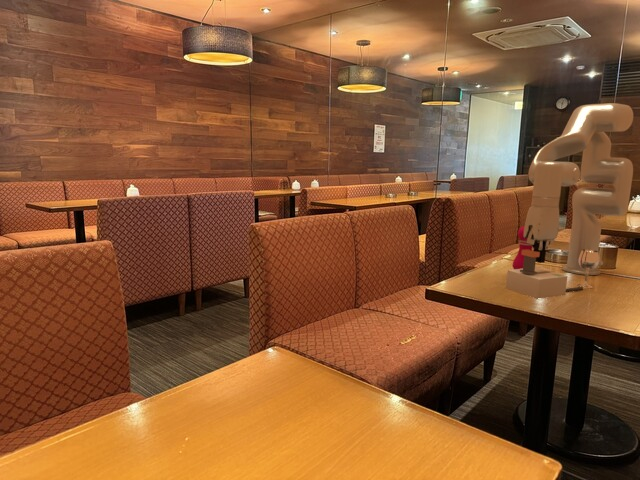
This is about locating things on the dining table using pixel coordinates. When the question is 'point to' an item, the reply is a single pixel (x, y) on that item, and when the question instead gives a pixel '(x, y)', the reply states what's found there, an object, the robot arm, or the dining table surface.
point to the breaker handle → (529, 261)
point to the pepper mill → (523, 245)
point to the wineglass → (588, 263)
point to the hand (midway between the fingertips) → (538, 261)
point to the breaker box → (538, 283)
